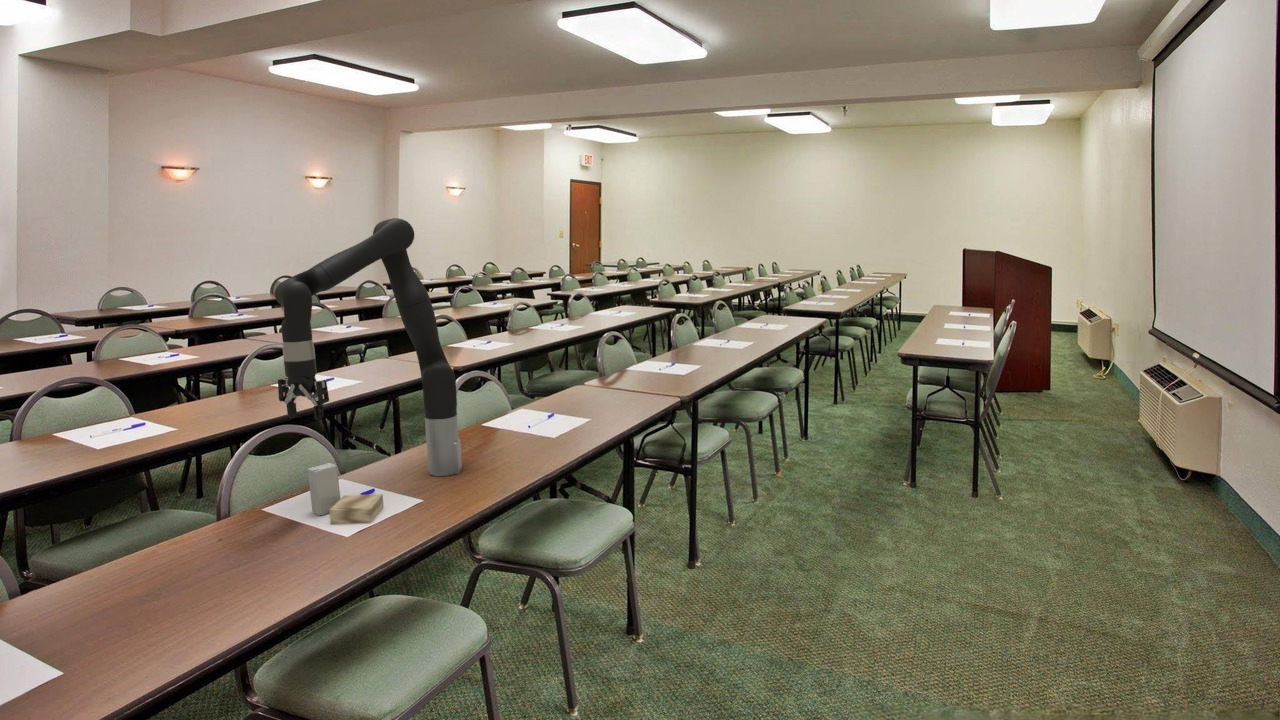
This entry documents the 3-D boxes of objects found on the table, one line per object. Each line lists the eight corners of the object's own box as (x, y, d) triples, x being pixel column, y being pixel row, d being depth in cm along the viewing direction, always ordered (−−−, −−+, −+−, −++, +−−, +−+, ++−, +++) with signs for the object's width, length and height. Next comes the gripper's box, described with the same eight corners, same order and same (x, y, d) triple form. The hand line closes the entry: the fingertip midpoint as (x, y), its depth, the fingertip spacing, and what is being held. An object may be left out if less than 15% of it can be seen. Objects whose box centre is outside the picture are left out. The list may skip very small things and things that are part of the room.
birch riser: (383, 508, 191) (382, 493, 190) (371, 523, 181) (370, 507, 180) (344, 510, 191) (343, 495, 190) (330, 525, 181) (329, 509, 180)
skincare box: (333, 505, 193) (329, 461, 191) (342, 509, 190) (338, 464, 188) (311, 512, 188) (306, 467, 186) (319, 517, 185) (314, 471, 183)
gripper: (332, 356, 191) (337, 416, 194) (288, 354, 196) (295, 413, 199) (310, 361, 184) (317, 423, 187) (266, 359, 189) (273, 420, 192)
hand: (305, 418), depth 193 cm, fingers open, 8 cm apart
